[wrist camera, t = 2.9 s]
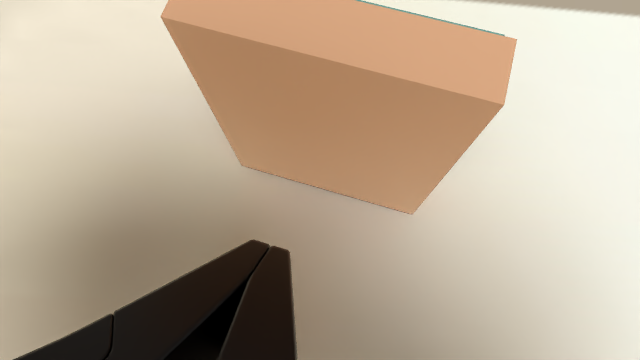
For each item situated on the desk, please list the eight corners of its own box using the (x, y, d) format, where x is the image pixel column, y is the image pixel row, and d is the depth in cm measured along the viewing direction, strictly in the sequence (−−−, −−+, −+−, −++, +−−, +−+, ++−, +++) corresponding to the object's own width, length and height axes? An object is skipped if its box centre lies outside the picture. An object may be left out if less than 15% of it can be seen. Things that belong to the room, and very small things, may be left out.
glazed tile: (412, 214, 17) (504, 104, 8) (242, 165, 17) (160, 16, 9) (422, 174, 17) (518, 31, 9) (256, 128, 18) (191, -48, 9)
